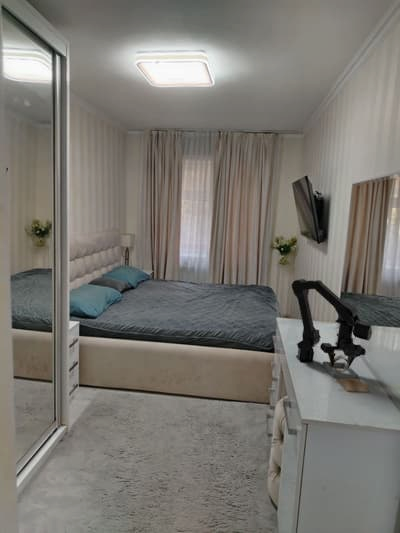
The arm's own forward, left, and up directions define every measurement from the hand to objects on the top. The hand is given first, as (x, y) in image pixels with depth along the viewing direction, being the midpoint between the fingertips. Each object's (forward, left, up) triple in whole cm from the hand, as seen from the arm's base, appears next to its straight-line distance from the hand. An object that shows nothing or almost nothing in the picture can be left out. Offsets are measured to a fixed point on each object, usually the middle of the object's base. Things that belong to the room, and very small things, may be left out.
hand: (340, 366), depth 166 cm
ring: (0, 0, -3) cm, 3 cm away
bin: (0, 0, -2) cm, 2 cm away
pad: (0, -13, -2) cm, 13 cm away
